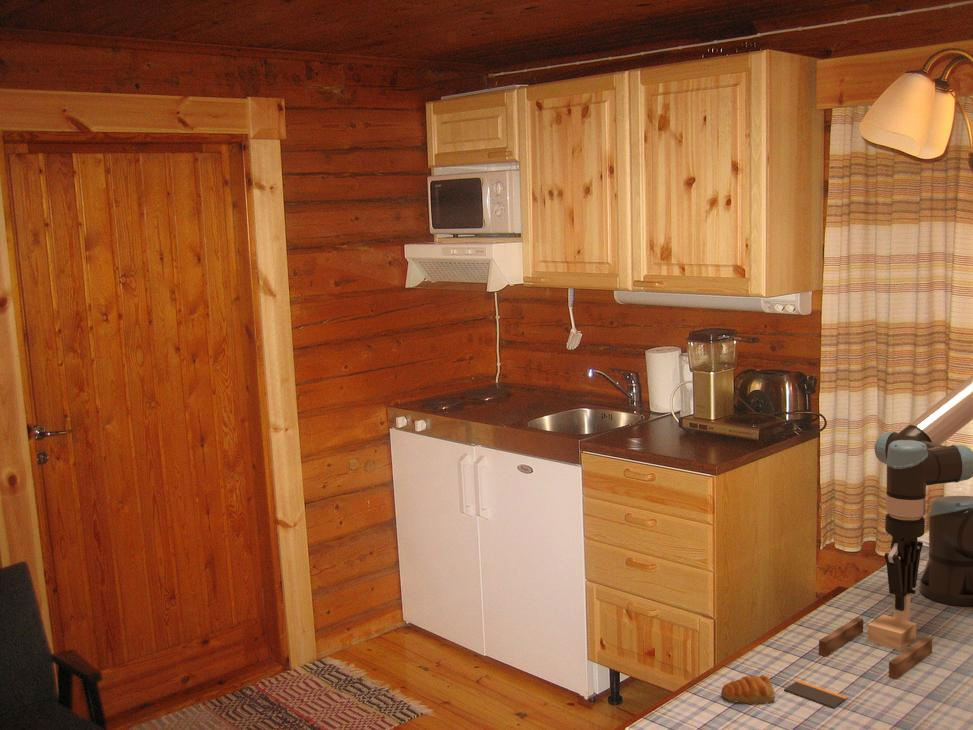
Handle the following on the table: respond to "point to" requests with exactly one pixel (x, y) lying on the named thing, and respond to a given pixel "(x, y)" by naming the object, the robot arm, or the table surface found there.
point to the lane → (895, 666)
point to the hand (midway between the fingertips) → (901, 623)
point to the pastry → (749, 690)
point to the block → (892, 632)
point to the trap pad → (815, 694)
